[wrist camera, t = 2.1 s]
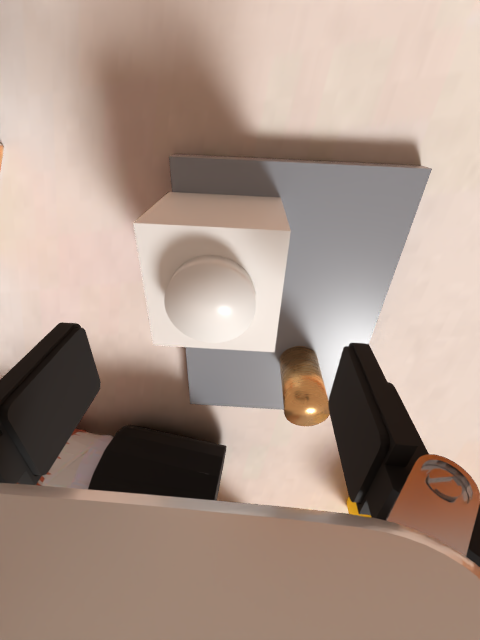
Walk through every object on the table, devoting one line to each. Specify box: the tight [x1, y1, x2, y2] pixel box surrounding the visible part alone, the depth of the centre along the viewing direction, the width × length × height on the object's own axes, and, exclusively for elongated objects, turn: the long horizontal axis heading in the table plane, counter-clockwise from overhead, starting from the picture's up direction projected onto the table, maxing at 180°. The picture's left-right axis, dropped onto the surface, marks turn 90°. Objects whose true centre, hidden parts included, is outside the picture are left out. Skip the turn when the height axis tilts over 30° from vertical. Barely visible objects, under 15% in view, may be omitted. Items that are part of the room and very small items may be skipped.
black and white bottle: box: [17, 425, 226, 501], centre depth 29 cm, size 10×34×10 cm
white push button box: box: [133, 192, 291, 352], centre depth 16 cm, size 6×6×7 cm
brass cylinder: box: [280, 346, 330, 426], centre depth 22 cm, size 3×3×5 cm
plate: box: [169, 154, 432, 410], centre depth 22 cm, size 20×14×1 cm
